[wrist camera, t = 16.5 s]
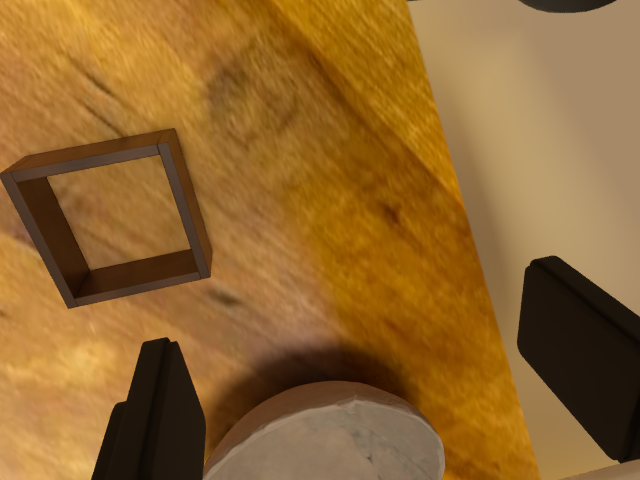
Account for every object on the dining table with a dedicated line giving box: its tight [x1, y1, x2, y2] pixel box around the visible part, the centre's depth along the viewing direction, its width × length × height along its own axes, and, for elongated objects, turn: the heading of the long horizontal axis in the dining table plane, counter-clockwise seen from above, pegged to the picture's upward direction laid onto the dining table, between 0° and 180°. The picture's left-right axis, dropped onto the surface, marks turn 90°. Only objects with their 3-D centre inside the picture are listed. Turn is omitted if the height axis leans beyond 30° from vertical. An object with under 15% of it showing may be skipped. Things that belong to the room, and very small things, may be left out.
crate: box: [0, 128, 212, 309], centre depth 35 cm, size 12×12×4 cm
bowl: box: [203, 381, 445, 480], centre depth 48 cm, size 26×26×10 cm
